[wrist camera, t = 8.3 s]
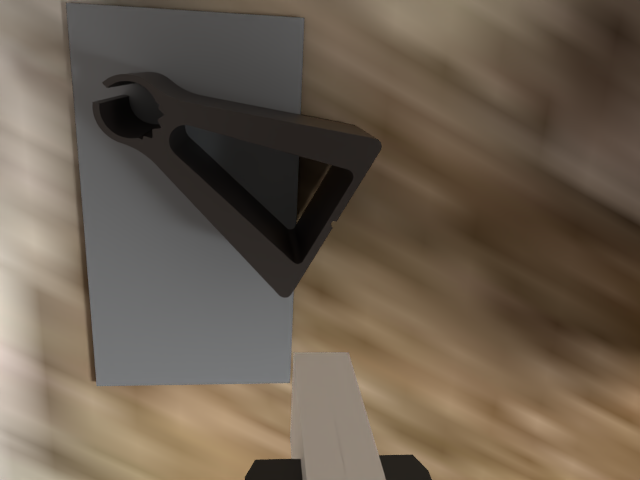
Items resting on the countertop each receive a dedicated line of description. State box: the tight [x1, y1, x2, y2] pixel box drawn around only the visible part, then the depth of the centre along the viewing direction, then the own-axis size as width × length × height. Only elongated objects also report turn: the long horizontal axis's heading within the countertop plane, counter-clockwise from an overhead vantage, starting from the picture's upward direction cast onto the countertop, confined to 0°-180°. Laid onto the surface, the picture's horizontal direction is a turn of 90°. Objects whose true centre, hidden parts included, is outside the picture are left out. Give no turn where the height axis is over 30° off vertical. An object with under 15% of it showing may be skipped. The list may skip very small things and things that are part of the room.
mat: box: [66, 3, 304, 386], centre depth 32 cm, size 12×22×1 cm, turn 177°
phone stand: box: [92, 72, 382, 298], centre depth 28 cm, size 9×6×12 cm
